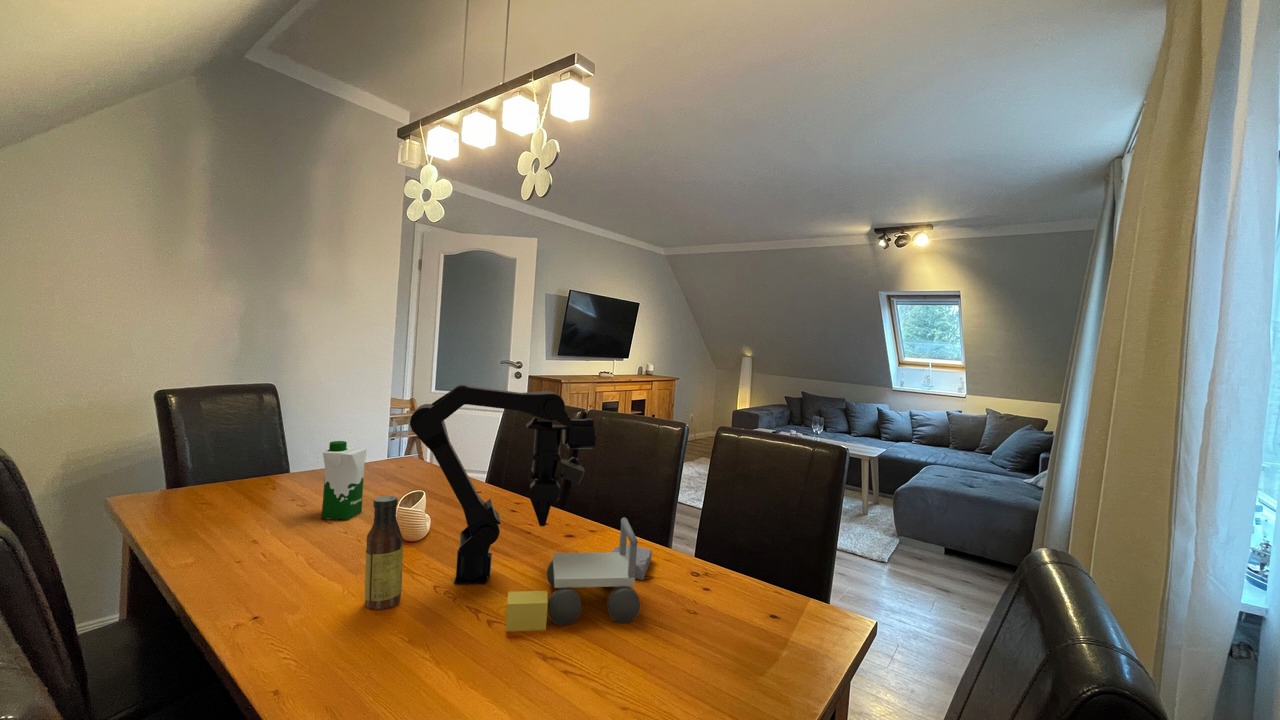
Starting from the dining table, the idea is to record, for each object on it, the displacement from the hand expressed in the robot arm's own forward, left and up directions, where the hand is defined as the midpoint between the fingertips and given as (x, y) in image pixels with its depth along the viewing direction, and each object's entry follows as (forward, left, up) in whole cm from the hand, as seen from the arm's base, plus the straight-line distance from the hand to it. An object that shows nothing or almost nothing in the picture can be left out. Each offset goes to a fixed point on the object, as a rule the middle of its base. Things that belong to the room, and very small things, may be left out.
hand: (542, 518), depth 113 cm
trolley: (+10, -14, -12) cm, 21 cm away
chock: (-2, -21, -12) cm, 24 cm away
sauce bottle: (-29, -12, -12) cm, 34 cm away
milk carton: (-53, +37, -12) cm, 66 cm away
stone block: (+20, +2, -12) cm, 24 cm away
